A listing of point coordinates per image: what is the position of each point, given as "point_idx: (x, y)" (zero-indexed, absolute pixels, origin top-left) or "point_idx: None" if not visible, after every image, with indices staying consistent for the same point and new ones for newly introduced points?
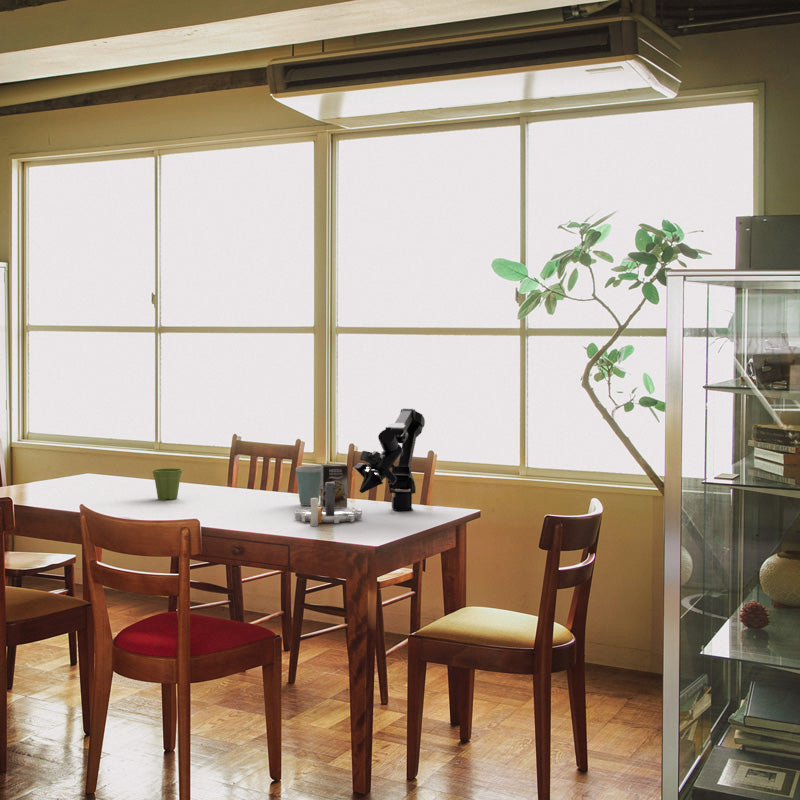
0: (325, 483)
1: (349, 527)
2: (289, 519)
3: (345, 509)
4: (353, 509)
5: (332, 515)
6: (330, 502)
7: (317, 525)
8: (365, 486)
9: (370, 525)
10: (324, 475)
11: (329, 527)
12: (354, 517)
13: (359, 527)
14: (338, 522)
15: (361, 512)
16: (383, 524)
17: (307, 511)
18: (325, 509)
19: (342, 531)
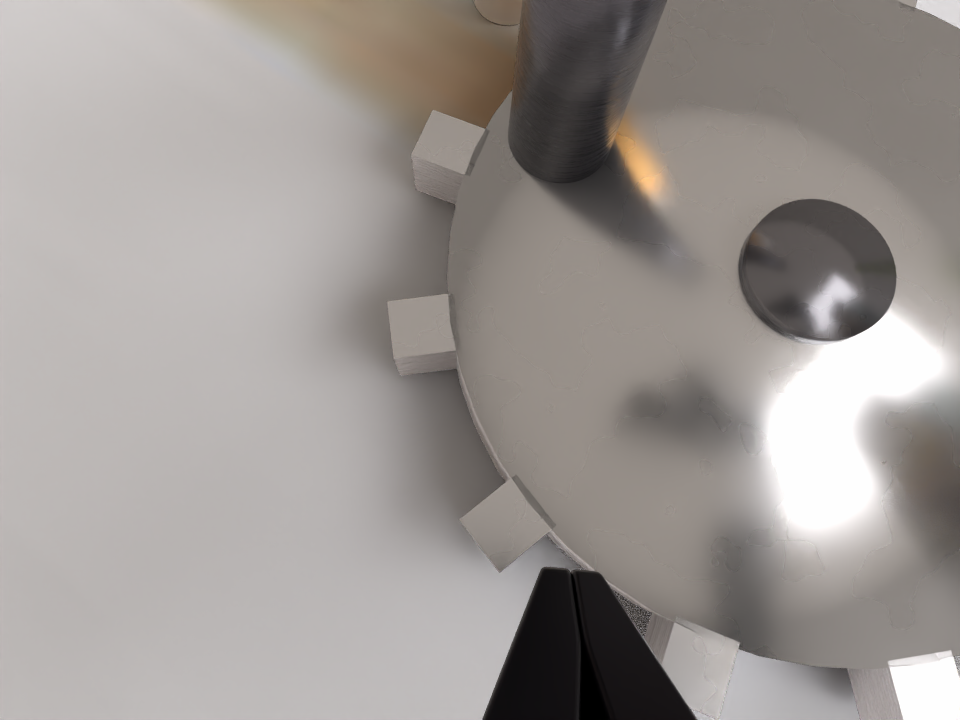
0: None
1: (217, 184)
2: (922, 6)
3: (833, 536)
4: (776, 631)
5: (507, 130)
6: None
7: (476, 5)
8: (485, 712)
9: (147, 420)
10: None
11: (348, 49)
12: (484, 440)
13: (145, 258)
14: (418, 183)
15: (502, 566)
16: (83, 584)
17: (922, 92)
18: (851, 244)
19: (109, 27)
